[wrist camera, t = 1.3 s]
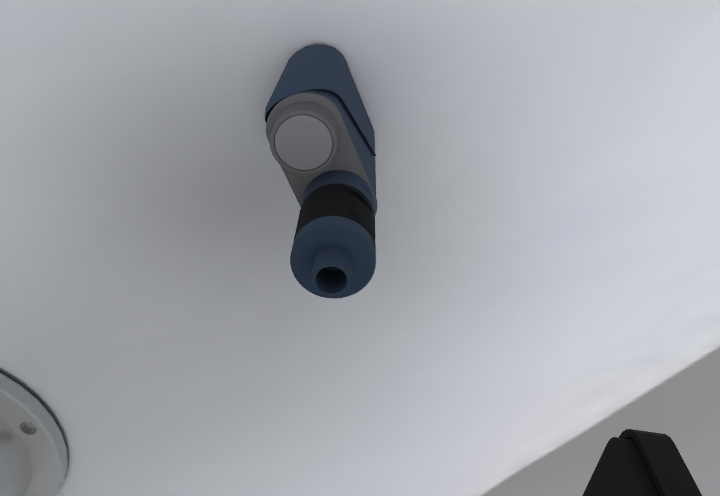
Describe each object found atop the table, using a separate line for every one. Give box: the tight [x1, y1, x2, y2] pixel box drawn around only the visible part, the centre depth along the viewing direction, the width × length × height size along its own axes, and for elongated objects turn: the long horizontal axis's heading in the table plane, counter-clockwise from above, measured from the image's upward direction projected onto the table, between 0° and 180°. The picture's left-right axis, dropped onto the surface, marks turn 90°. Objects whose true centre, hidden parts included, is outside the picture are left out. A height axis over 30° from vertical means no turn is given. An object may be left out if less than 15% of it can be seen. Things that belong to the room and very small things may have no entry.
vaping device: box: [265, 45, 377, 298], centre depth 22 cm, size 3×5×12 cm, turn 22°
